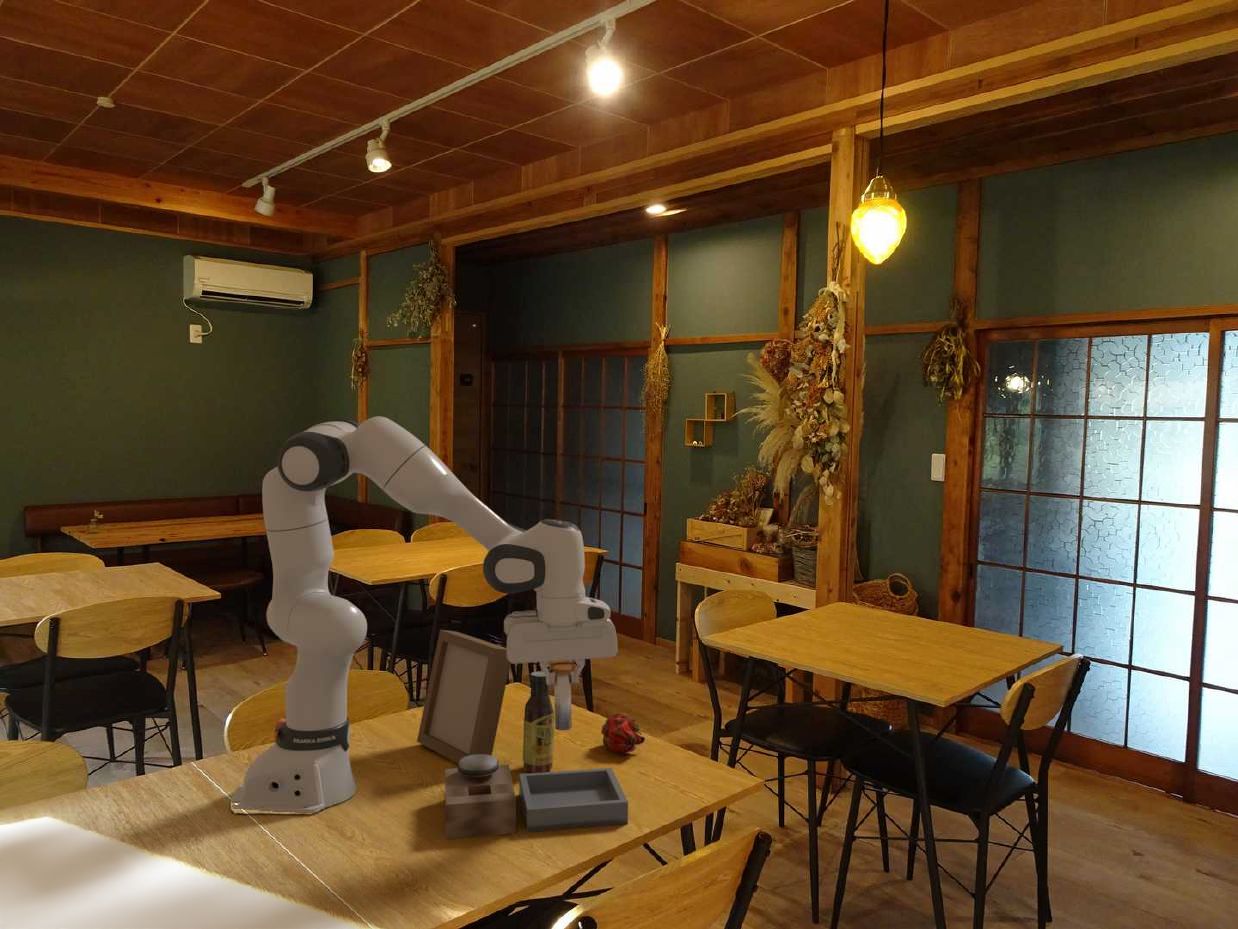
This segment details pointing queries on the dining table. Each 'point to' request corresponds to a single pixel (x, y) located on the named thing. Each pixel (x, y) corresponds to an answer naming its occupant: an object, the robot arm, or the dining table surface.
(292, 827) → the dining table surface
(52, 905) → the dining table surface
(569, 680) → the lock pin
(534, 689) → the sauce bottle
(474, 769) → the brown block with knob
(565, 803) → the tray
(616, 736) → the dragon fruit
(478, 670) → the photo frame
